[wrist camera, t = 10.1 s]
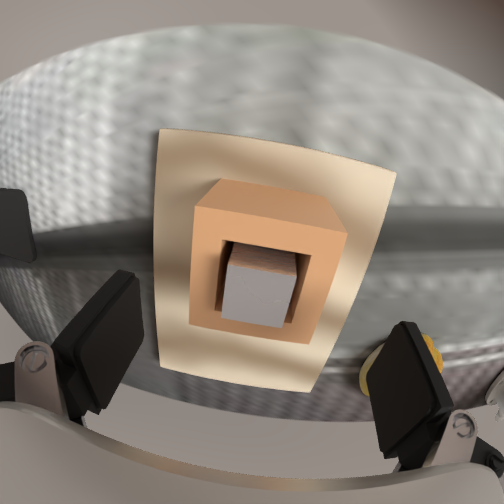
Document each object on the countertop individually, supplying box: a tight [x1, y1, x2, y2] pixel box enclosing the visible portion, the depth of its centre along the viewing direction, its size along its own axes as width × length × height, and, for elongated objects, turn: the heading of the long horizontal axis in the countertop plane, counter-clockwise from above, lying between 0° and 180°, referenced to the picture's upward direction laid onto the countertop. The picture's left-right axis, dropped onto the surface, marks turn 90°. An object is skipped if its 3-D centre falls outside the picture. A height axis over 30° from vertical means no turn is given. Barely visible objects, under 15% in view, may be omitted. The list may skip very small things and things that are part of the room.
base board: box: [154, 128, 397, 392], centre depth 19 cm, size 20×14×1 cm
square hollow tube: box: [189, 178, 348, 345], centre depth 14 cm, size 6×6×6 cm
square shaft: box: [221, 242, 297, 328], centre depth 14 cm, size 3×3×6 cm
